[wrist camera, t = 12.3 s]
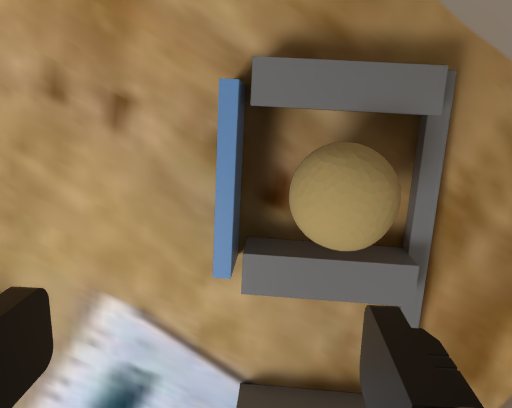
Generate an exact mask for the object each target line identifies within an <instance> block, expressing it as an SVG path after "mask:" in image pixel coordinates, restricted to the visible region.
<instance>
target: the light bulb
mask: <svg viewBox="0 0 512 408" xmlns="http://www.w3.org/2000/svg"><path fill="white" fill-rule="evenodd" d="M400 200H401V188H400V184H399V180H398V177H397V175H396V173H395V171H394V169H393V167H392V166H391V165H390V164H389V163H388V161H387V160H386V159H385V158H384V157H383V156H381V155H380V154H379V153H378V152H376V151H375V150H373V149H371V148H369V147H367V146H365V145H361V144H358V143H352V142H337V143H332V144H328V145H325V146H322V147H320V148H319V149H317V150H315V151H313V152H312V153H311V154H310V155H308V156H307V157H306V158H305V159H304V160H303V161H302V163H301V164H300V165H299V167H298V168H297V170H296V172H295V174H294V176H293V179H292V182H291V185H290V192H289V204H290V209H291V212H292V215H293V218H294V220H295V222H296V224H297V225H298V227H299V229H300V230H301V231H302V232H303V233H304V234H305V235H306V236H307V237H308V238H310V239H311V240H312V241H314V242H315V243H317V244H319V245H321V246H324V247H326V248H329V249H333V250H338V251H356V250H360V249H364V248H366V247H368V246H370V245H372V244H374V243H375V242H377V241H378V240H379V239H381V238H382V237H383V236H384V234H385V233H386V232H387V231H388V230H389V228H390V227H391V225H392V224H393V222H394V220H395V218H396V216H397V214H398V210H399V206H400Z"/></svg>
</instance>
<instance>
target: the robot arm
mask: <svg viewBox="0 0 512 408" xmlns="http://www.w3.org/2000/svg"><path fill="white" fill-rule="evenodd" d="M52 353H53V337H52V326H51V316H50V305H49V297H48V294H47V292H46V290H45V289H43V288H30V287H10V288H8V289H7V290H5V291H4V292H2V293H1V294H0V408H12V407H13V406H14V405H15V404H16V402H17V401H18V400H19V399H20V398H21V397H22V396H23V395H24V394H25V392H26V391H27V390H28V389H29V388H30V387H31V386H32V385H33V383H34V382H35V381H36V380H37V379H38V378H39V377H40V376H41V374H42V373H43V372H44V371H45V370H46V368H47V367H48V365H49V363H50V360H51V357H52ZM360 383H361V389H362V393H363V397H364V401H365V404H366V408H484V407H483V406H482V404H481V403H480V401H479V400H478V398H477V397H476V395H475V394H474V392H473V391H472V389H471V388H470V386H469V385H468V383H467V382H466V380H465V379H464V377H463V376H462V374H461V373H460V371H457V367H456V365H455V364H454V362H453V361H452V359H451V358H449V355H448V353H447V352H446V350H445V349H444V347H443V346H442V344H441V343H440V341H439V340H437V339H436V338H435V337H433V336H432V335H431V334H429V333H428V332H427V331H425V330H424V329H422V328H411V326H410V325H409V323H408V321H407V319H406V318H405V316H404V314H403V312H402V311H401V309H400V308H399V307H396V306H376V305H367V306H366V308H365V313H364V323H363V334H362V345H361V355H360Z"/></svg>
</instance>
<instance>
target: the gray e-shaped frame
mask: <svg viewBox="0 0 512 408" xmlns="http://www.w3.org/2000/svg"><path fill="white" fill-rule="evenodd" d="M456 73H457V71H454V70H448V65H428V64H407V63H386V62H365V61H344V60H323V59H302V58H281V57H260V56H253V62H252V82H251V103H250V105H251V106H260V107H278V108H297V109H316V110H334V111H353V112H372V113H390V114H409V115H421V116H420V124H419V131H418V139H417V146H416V154H415V161H414V169H413V176H412V184H411V191H410V198H409V206H408V213H407V221H406V228H405V236H404V243H403V248H402V247H387V246H373V245H370V246H368V247H366V248H364V249H360V250H356V251H338V250H333V249H329V248H326V247H324V246H321V245H319V244H317V243H315V242H314V241H300V240H285V239H271V238H256V237H248V238H247V242H246V245H245V249H244V252H243V268H242V288H241V294H249V295H262V296H275V297H289V298H302V299H315V300H328V301H342V302H355V303H368V304H382V305H395V306H396V307H399V308H400V309H401V311H402V312H403V314H404V316H405V318H406V319H407V321H408V323H409V325H410V326H411V328H419V321H420V314H421V308H422V301H423V294H424V288H425V281H426V274H427V268H428V261H429V254H430V247H431V241H432V234H433V227H434V221H435V214H436V207H437V200H438V194H439V187H440V180H441V174H442V167H443V160H444V154H445V147H446V140H447V133H448V127H449V120H450V113H451V107H452V100H453V93H454V86H455V80H456ZM245 93H246V84H245V83H243V82H242V81H241V80H239V79H223V78H219V107H218V138H217V169H216V199H215V230H214V260H213V278H226V279H231V276H232V272H233V269H234V266H235V263H236V260H237V256H238V245H239V224H240V202H241V180H242V158H243V136H244V114H245ZM237 408H366V404H365V401H364V397H363V394H359V393H348V392H336V391H324V390H313V389H301V388H289V387H277V386H266V385H254V384H242V383H240V389H239V396H238V402H237Z"/></svg>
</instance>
